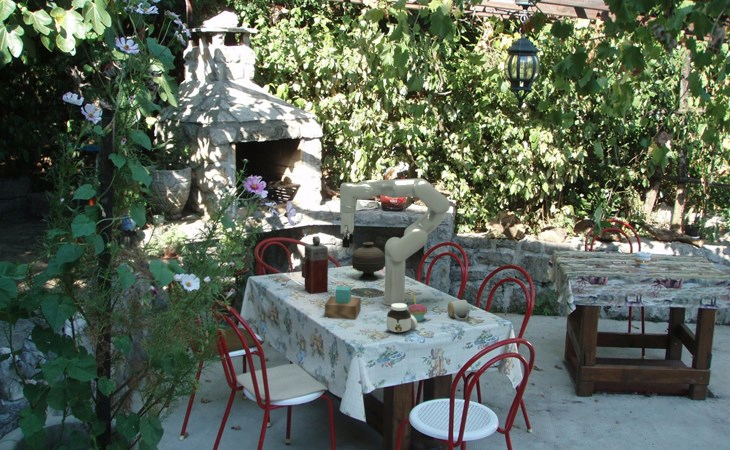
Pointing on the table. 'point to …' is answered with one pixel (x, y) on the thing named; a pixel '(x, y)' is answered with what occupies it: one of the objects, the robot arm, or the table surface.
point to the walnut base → (343, 308)
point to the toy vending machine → (315, 267)
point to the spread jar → (400, 319)
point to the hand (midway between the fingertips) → (347, 245)
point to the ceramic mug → (458, 309)
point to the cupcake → (417, 310)
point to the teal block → (343, 294)
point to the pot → (368, 261)
